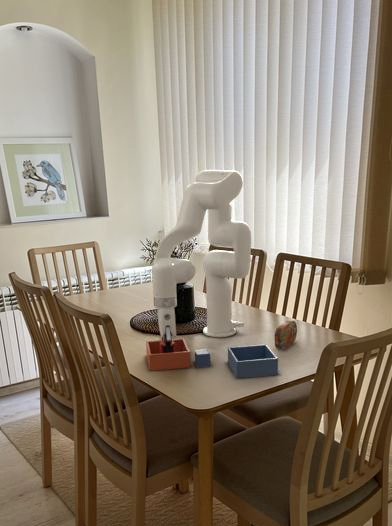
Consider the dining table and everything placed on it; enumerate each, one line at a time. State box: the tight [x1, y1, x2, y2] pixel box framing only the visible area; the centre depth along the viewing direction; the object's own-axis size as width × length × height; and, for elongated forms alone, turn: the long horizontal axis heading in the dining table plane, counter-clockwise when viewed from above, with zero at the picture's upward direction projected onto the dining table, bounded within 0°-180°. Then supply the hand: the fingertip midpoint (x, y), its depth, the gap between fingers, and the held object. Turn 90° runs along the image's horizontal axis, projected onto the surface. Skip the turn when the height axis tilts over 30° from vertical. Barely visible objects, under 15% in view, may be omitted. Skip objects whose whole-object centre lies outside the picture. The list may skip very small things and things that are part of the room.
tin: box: [274, 320, 298, 351], centre depth 195 cm, size 15×3×8 cm, turn 148°
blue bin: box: [227, 344, 279, 379], centre depth 176 cm, size 13×13×6 cm
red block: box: [158, 338, 175, 353], centre depth 183 cm, size 4×4×4 cm
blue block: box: [194, 348, 211, 368], centre depth 181 cm, size 4×4×4 cm
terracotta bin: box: [145, 338, 191, 372], centre depth 183 cm, size 13×13×6 cm
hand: (167, 353), depth 183 cm, fingers closed on red block, 4 cm apart
